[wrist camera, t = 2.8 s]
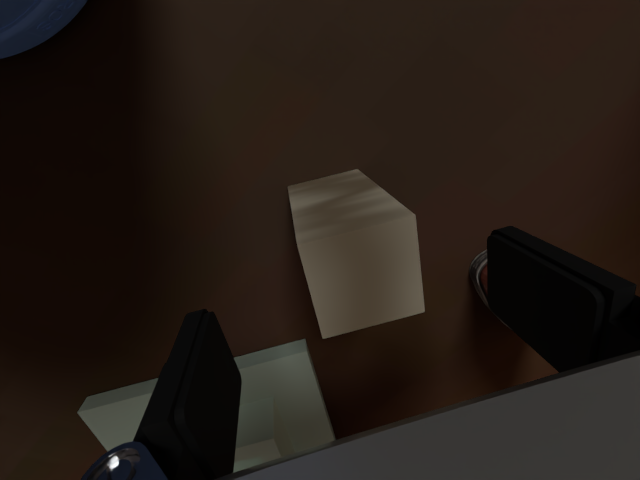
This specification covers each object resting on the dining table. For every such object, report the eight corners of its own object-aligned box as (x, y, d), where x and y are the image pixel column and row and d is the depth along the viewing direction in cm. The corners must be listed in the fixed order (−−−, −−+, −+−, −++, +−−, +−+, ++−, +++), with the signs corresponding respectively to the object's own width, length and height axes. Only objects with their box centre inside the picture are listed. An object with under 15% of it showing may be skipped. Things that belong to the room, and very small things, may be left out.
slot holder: (305, 338, 22) (311, 388, 18) (344, 468, 28) (356, 526, 24) (87, 396, 21) (46, 460, 18) (176, 516, 27) (160, 583, 24)
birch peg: (357, 169, 18) (415, 215, 10) (368, 233, 19) (424, 311, 12) (287, 186, 18) (297, 245, 10) (304, 249, 19) (322, 339, 12)
